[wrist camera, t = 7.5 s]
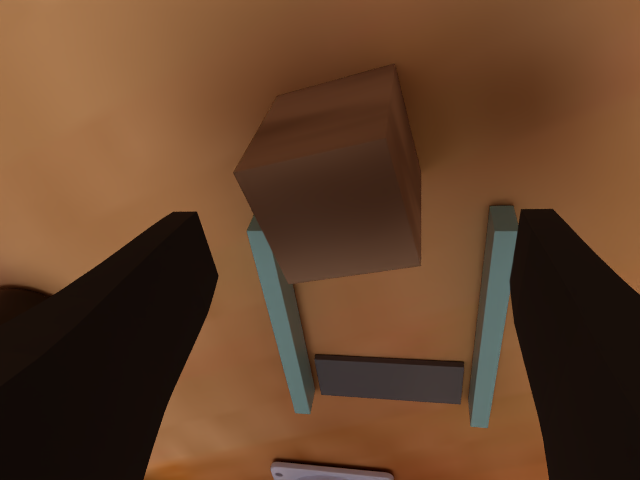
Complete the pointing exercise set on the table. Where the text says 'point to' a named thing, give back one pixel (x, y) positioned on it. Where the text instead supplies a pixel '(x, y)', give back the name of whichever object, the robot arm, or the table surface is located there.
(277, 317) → the channel
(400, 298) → the table surface
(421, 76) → the table surface
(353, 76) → the walnut block
